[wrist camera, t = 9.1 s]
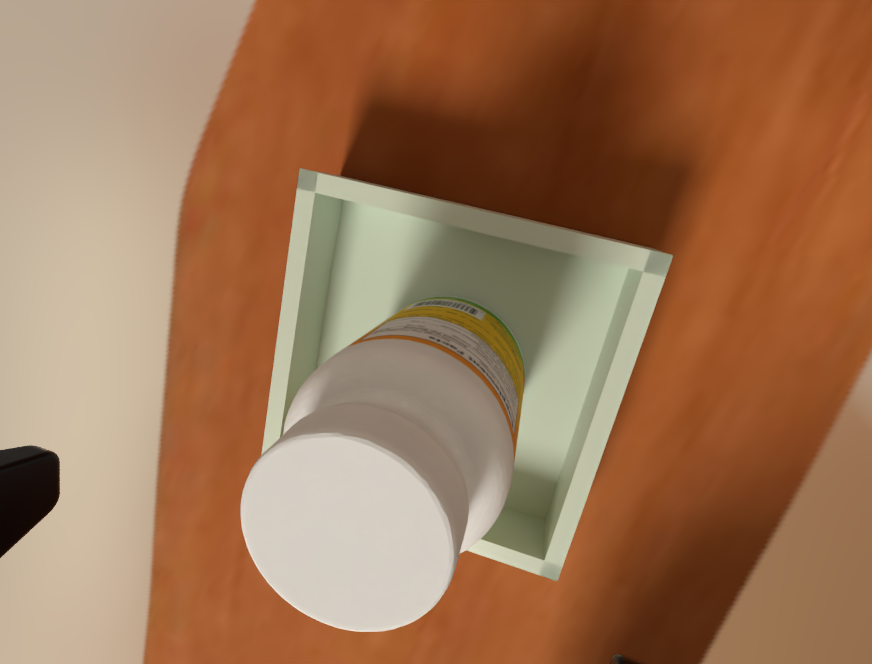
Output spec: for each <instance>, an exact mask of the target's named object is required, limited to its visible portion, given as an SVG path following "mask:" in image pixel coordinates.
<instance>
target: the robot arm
mask: <svg viewBox="0 0 872 664" xmlns="http://www.w3.org/2000/svg"><path fill="white" fill-rule="evenodd" d="M59 463H60V462H59V458H58V456H57V454H55V453H54V452H52V451H49V450H46V449H43V448H41V447H37V446H23V447H17V448H12V449H5V450H0V558H1V557H2V556H3V555H4V554H5V553H6V552H7V551H8V550H9V549H11V547H13V546H14V545H15V544H16V543H17V542H18V541H19V540H20V539H21V538H22V537H24V536H25V535H26V534H27V533H28V532H29V531H30V530H31V529H32V528H33V527H34V526H35V525H36V524H37V523H38V522H40V521H41V520H42V519H43V518H44V517H45V516H46V515H47V514H48V513H49V512H50V511H51V510H52V509H53V508H54V506H55V505H56V503H57V501H58V499H59V494H60V482H59V481H60V477H59V475H60V472H59V471H60V469H59V467H60V466H59V465H60V464H59ZM609 664H644V663H643V662H640V661H638V660H635V659H632V658H629V657H626V656H624V655H621V654H616V655H614V656H613V657H612V658H611V660H610V662H609Z"/></svg>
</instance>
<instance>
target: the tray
mask: <svg viewBox="0 0 872 664" xmlns="http://www.w3.org/2000/svg"><path fill="white" fill-rule="evenodd" d="M672 258H673V255H671V254H668V253H665V252H662V251H659V250H656V249H653V248H650V247H646V246H641V245H637V244H633V243H628V242H624V241H620V240H616V239H611V238H607V237H603V236H598V235H594V234H590V233H585V232H581V231H577V230H573V229H568V228H564V227H560V226H555V225H551V224H547V223H542V222H538V221H534V220H529V219H525V218H521V217H517V216H512V215H508V214H504V213H499V212H495V211H491V210H486V209H482V208H478V207H474V206H469V205H465V204H461V203H456V202H452V201H448V200H443V199H439V198H435V197H431V196H426V195H422V194H418V193H413V192H409V191H405V190H400V189H396V188H392V187H387V186H383V185H379V184H375V183H370V182H366V181H362V180H357V179H353V178H349V177H344V176H340V175H335V174H329V173H323V172H318V171H312V170H306V169H301V168H300V170H299V177H298V185H297V192H296V200H295V207H294V215H293V222H292V230H291V237H290V245H289V252H288V260H287V267H286V275H285V283H284V290H283V298H282V305H281V313H280V320H279V328H278V335H277V343H276V350H275V358H274V365H273V373H272V380H271V388H270V395H269V403H268V410H267V418H266V425H265V433H264V440H263V448H262V454H263V453H264V452H265V451H266V450H267V449H268V448H270V447H271V446H272V445H273V444H274V443H275V442H276V441H277V440H278V439H279V438H281V437H282V436H283V431H284V425H285V420H286V417H287V414H288V410H289V408H290V406H291V404H292V401H293V399H294V397H295V395H296V393H297V392H298V390H299V389H300V387H301V386H302V385H303V383H304V382H305V381H306V379H307V378H308V377H309V376H310V375H311V374H312V373H313V372H314V371H315V370H316V369H317V368H318V367H319V366H321V365H322V364H323V363H324V362H325V361H327V360H328V359H329V358H331V357H332V356H333V355H335V354H336V353H338V352H339V351H341V350H342V349H344V348H345V347H347V346H348V345H350V344H351V343H353V342H354V341H356V340H357V339H359V338H360V337H362V336H363V335H365V334H366V333H368V332H369V331H371V330H372V329H373V328H375V327H376V326H378V325H379V324H381V323H382V322H384V321H385V320H386V319H388V318H389V317H391V316H392V315H394V314H395V313H397V312H398V311H400V310H401V309H403V308H405V307H406V306H408V305H410V304H412V303H414V302H416V301H419V300H421V299H425V298H429V297H434V296H457V297H462V298H466V299H469V300H473V301H475V302H477V303H480V304H481V305H483V306H485V307H487V308H488V309H490V310H492V311H493V312H494V313H496V314H497V315H498V316H499V317H500V318H501V319H502V320H503V321H504V322H505V323H506V324H507V325H508V327H509V328H510V329H511V331H512V332H513V334H514V336H515V338H516V340H517V342H518V344H519V346H520V349H521V352H522V355H523V360H524V366H525V384H524V393H523V401H522V409H521V417H520V424H519V432H518V439H517V446H516V453H515V461H514V469H513V475H512V480H511V485H510V489H509V493H508V496H507V499H506V502H505V504H504V507H503V509H502V511H501V513H500V515H499V516H498V518H497V520H496V521H495V523H494V524H493V525H492V527H491V528H490V529H489V531H488V532H487V533H486V534H485V535H484V536H483V537H482V538H481V539H480V540H479V541H478V542H476V543H475V544H474V545H473V546H471V547H470V548H469V549H467V551H470V552H473V553H476V554H479V555H482V556H485V557H488V558H491V559H494V560H496V561H499V562H502V563H505V564H508V565H511V566H514V567H517V568H520V569H523V570H526V571H529V572H532V573H534V574H537V575H540V576H543V577H546V578H549V579H552V580H555V581H558V578H559V575H560V572H561V569H562V567H563V564H564V561H565V558H566V555H567V553H568V550H569V547H570V544H571V541H572V539H573V536H574V533H575V530H576V527H577V525H578V522H579V519H580V516H581V513H582V511H583V508H584V505H585V502H586V499H587V496H588V494H589V491H590V488H591V485H592V482H593V480H594V477H595V474H596V471H597V468H598V466H599V463H600V460H601V457H602V454H603V452H604V449H605V446H606V443H607V440H608V437H609V435H610V432H611V429H612V426H613V423H614V421H615V418H616V415H617V412H618V409H619V407H620V404H621V401H622V398H623V395H624V393H625V390H626V387H627V384H628V381H629V379H630V376H631V373H632V370H633V367H634V364H635V362H636V359H637V356H638V353H639V350H640V348H641V345H642V342H643V339H644V336H645V334H646V331H647V328H648V325H649V322H650V320H651V317H652V314H653V311H654V308H655V305H656V303H657V300H658V297H659V294H660V291H661V289H662V286H663V283H664V280H665V277H666V275H667V272H668V269H669V266H670V263H671V261H672Z"/></svg>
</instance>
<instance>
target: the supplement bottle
mask: <svg viewBox="0 0 872 664" xmlns="http://www.w3.org/2000/svg"><path fill="white" fill-rule="evenodd" d="M524 384H525V366H524V360H523V355H522V352H521V349H520V346H519V344H518V342H517V340H516V338H515V336H514V334H513V332H512V331H511V329H510V328H509V327H508V325H507V324H506V323H505V322H504V321H503V320H502V319H501V318H500V317H499V316H498V315H497V314H496V313H494V312H493V311H492V310H490V309H488V308H487V307H485V306H483V305H481V304H480V303H477V302H475V301H473V300H469V299H466V298H462V297H457V296H434V297H429V298H425V299H421V300H419V301H416V302H414V303H412V304H410V305H408V306H406V307H405V308H403V309H401V310H400V311H398V312H397V313H395V314H394V315H392V316H391V317H389V318H388V319H386V320H385V321H384V322H382V323H381V324H379V325H378V326H376V327H375V328H373V329H372V330H371V331H369V332H368V333H366V334H365V335H363V336H362V337H360V338H359V339H357V340H356V341H354V342H353V343H351V344H350V345H348V346H347V347H345V348H344V349H342V350H341V351H339V352H338V353H336V354H335V355H333V356H332V357H331V358H329V359H328V360H327V361H325V362H324V363H323V364H322V365H321V366H319V367H318V368H317V369H316V370H315V371H314V372H313V373H312V374H311V375H310V376H309V377H308V378H307V379H306V381H305V382H304V383H303V385H302V386H301V387H300V389H299V390H298V392H297V393H296V395H295V397H294V399H293V401H292V404H291V406H290V408H289V410H288V414H287V417H286V420H285V425H284V431H283V436H282V437H281V438H279V439H278V440H277V441H276V442H275V443H274V444H273V445H272V446H271V447H270V448H268V449H267V450H266V451H265V452H264V453H263V454H262V455H261V457H260V458H259V459H258V460H257V462H256V463H255V465H254V466H253V468H252V469H251V471H250V474H249V476H248V478H247V481H246V483H245V486H244V489H243V494H242V499H241V524H242V531H243V534H244V538H245V541H246V545H247V548H248V550H249V553H250V555H251V557H252V559H253V561H254V563H255V565H256V566H257V568H258V569H259V571H260V573H261V574H262V575H263V577H264V578H265V579H266V581H267V582H268V583H269V585H270V586H271V587H272V588H273V589H274V590H275V591H276V592H277V593H278V594H279V595H280V596H281V597H282V598H283V599H285V600H286V601H287V602H288V603H290V604H291V605H292V606H293V607H295V608H296V609H298V610H299V611H301V612H302V613H304V614H306V615H308V616H310V617H312V618H314V619H316V620H318V621H320V622H323V623H325V624H328V625H330V626H333V627H336V628H340V629H345V630H350V631H360V632H377V631H386V630H392V629H396V628H398V627H401V626H404V625H407V624H409V623H411V622H413V621H415V620H417V619H419V618H420V617H422V616H423V615H424V614H426V613H427V612H428V611H429V610H431V609H432V608H433V607H434V606H435V605H436V603H437V602H438V601H439V600H440V598H441V597H442V596H443V594H444V593H445V591H446V590H447V588H448V586H449V584H450V582H451V580H452V577H453V574H454V571H455V568H456V564H457V561H458V557H459V554H460V553H462V552H464V551H465V550H467V549H469V548H470V547H471V546H473V545H474V544H475V543H476V542H478V541H479V540H480V539H481V538H482V537H483V536H484V535H485V534H486V533H487V532H488V531H489V529H490V528H491V527H492V525H493V524H494V523H495V521H496V520H497V518H498V516H499V515H500V513H501V511H502V509H503V507H504V504H505V502H506V499H507V496H508V493H509V489H510V485H511V480H512V475H513V469H514V461H515V453H516V446H517V439H518V432H519V424H520V417H521V409H522V401H523V393H524Z"/></svg>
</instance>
